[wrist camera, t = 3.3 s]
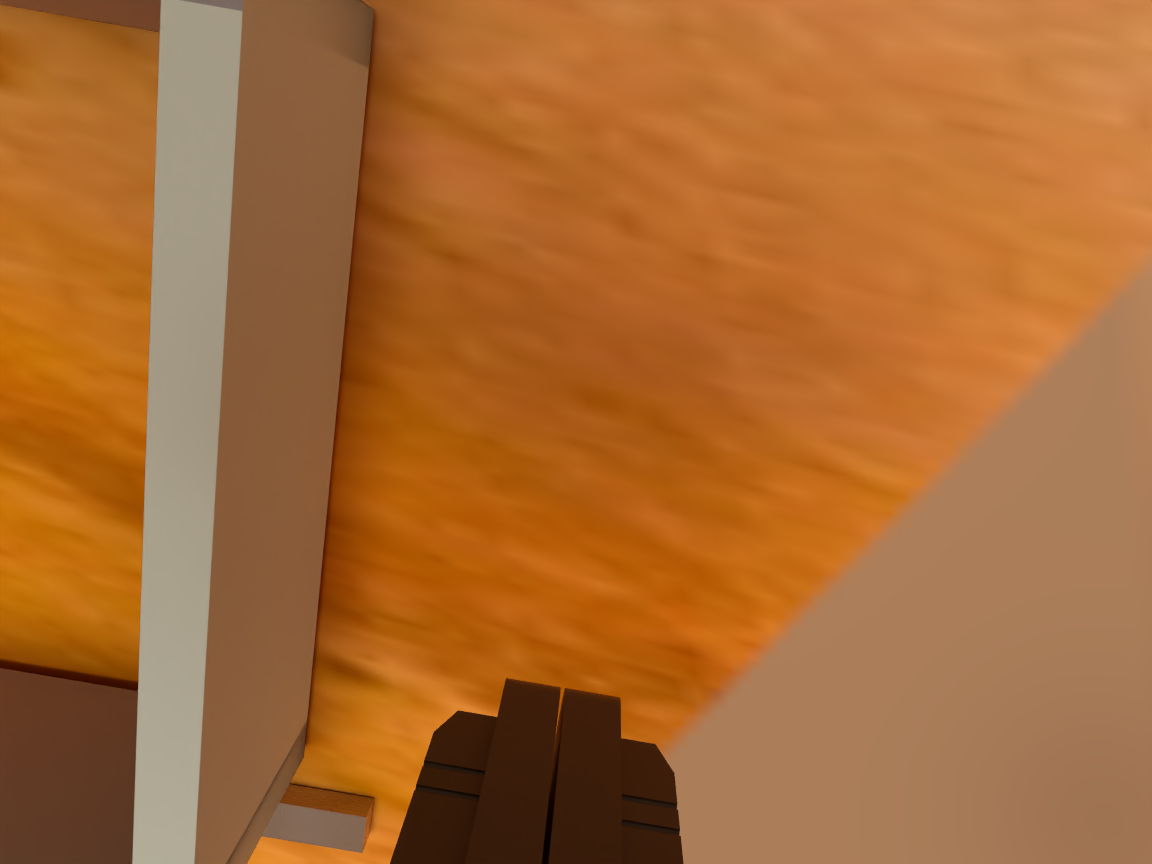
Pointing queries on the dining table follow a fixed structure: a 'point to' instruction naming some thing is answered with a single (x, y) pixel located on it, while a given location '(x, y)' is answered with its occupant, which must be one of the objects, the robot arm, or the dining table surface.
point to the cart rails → (322, 818)
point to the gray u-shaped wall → (215, 447)
